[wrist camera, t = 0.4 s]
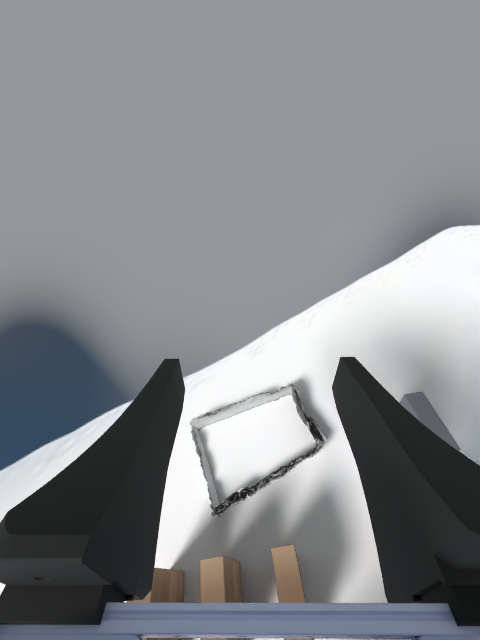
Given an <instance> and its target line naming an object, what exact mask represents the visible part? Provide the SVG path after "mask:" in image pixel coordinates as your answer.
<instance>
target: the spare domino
mask: <svg viewBox="0 0 480 640" xmlns="http://www.w3.org/2000/svg"><path fill="white" fill-rule="evenodd" d="M400 404H401V405H402V406H403V407H404V408H405V409H406V410H408V411H409V412H410V413H411V414H412V415H413V416H414V417H415V418H417V419H418V420H419V421H420V422H421V423H422V424H424V425H425V426H426V427H427V428H429V429H430V430H431V431H432V432H434V433H435V434H436V435H437V436H439V437H440V438H441V439H443V440H444V441H445V442H447V443H448V444H449V445H451V446H452V447H453V448H455V449H456V450H458V451H459V450H460V448H459V446H458V445H457V443H456V442H455V440H454V439H453V437H452V436H451V434H450V433H449V431H448V430H447V428H446V427H445V425H444V423H443V422H442V420H441V419H440V417H439V416H438V414H437V413H436V411H435V410H434V408H433V407H432V405H431V404H430V402H429V401H428V399H427V398H426V396H425V395H424V393H423V392H417V393H412V394H406V395H404V397H403V399H402V400H401V402H400Z"/></svg>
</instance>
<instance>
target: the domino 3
mask: <svg viewBox="0 0 480 640" xmlns="http://www.w3.org/2000/svg"><path fill="white" fill-rule="evenodd" d="M271 552H272V559H273V566H274V573H275V580H276V587H277V594H278V600H279V603H306V602H305V597H304V592H303V587H302V582H301V577H300V571H299V566H298V561H297V556H296V551H295V547H294V545H288V546H282V547H276V548H271ZM284 640H313V638H284Z"/></svg>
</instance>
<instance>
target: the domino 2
mask: <svg viewBox="0 0 480 640" xmlns="http://www.w3.org/2000/svg"><path fill="white" fill-rule="evenodd" d="M200 603H243V599H242V586H241V574H240V562H237V561H234V560H232V559H229V558H226V557H224V556H221V557H215V558H209V559H202V560H200ZM200 640H246V638H200Z"/></svg>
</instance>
